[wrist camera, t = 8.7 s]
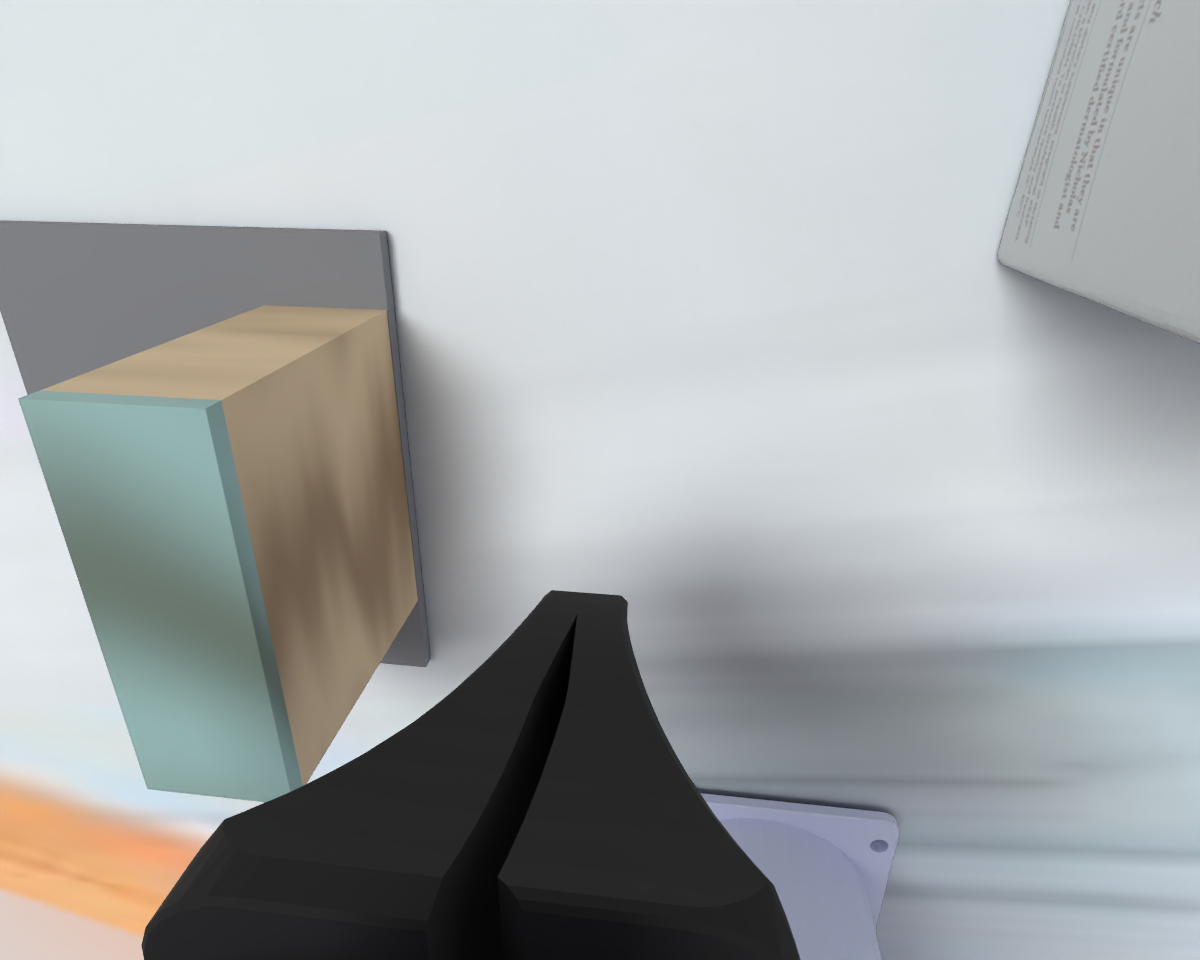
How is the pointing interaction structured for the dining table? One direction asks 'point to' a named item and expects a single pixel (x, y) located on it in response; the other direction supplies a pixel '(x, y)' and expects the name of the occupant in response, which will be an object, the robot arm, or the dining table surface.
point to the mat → (186, 306)
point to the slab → (236, 537)
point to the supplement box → (1117, 164)
